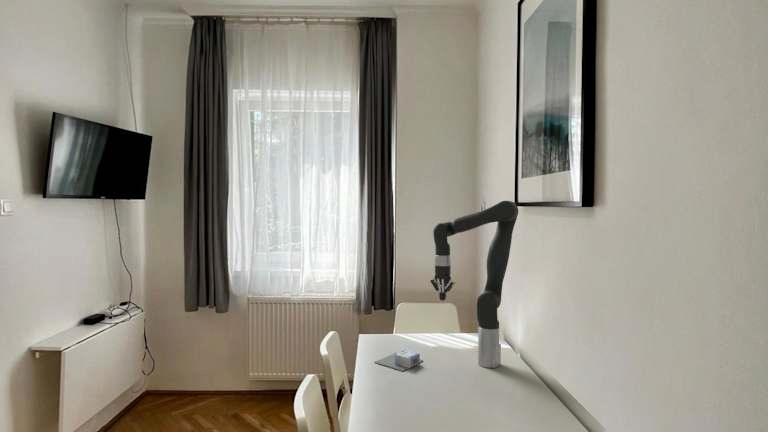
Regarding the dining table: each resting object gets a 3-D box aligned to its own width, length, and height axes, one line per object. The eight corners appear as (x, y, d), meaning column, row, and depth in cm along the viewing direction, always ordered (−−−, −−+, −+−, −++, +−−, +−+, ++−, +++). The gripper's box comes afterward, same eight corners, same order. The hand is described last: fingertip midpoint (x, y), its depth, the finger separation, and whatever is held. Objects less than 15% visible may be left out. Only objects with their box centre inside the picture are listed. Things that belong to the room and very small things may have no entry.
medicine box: (410, 358, 180) (394, 354, 186) (410, 368, 180) (394, 363, 186) (420, 353, 187) (404, 349, 192) (419, 363, 187) (404, 359, 192)
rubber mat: (423, 361, 190) (423, 360, 190) (402, 371, 178) (402, 370, 178) (396, 353, 201) (396, 352, 201) (374, 362, 188) (374, 361, 188)
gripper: (458, 264, 196) (458, 300, 196) (435, 262, 204) (435, 297, 205) (450, 266, 190) (450, 303, 190) (426, 264, 199) (426, 299, 199)
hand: (442, 300), depth 198 cm, fingers closed
